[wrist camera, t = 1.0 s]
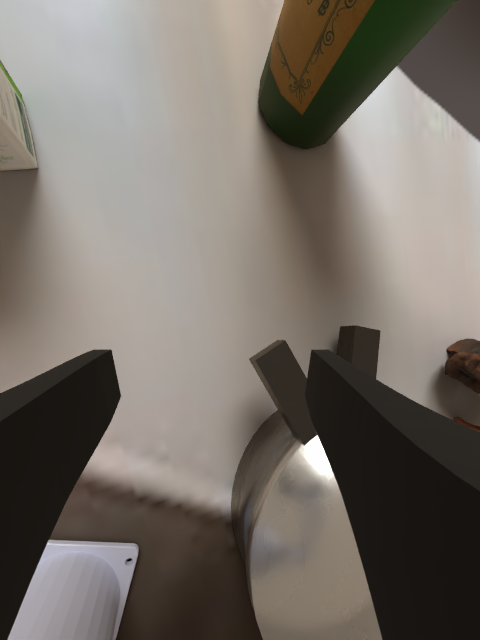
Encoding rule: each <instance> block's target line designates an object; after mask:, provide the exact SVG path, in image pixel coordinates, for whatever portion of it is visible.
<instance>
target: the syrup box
mask: <svg viewBox="0 0 480 640" xmlns="http://www.w3.org/2000/svg"><path fill="white" fill-rule="evenodd" d="M32 168H38V164H37V161H36V155H35V151H34V146H33V140H32V136H31V132H30V127H29V123H28V119H27V115H26V111H25V107H24V103H23V99H22V95H21V93H20V91H19V90H18V88H17V86H16V85H15V83H14V82H13V80H12V78H11V77H10V75H9V74H8V72H7V70H6V69H5V67H4V65H3V64H2V62H1V61H0V171H3V170H18V169H32Z"/></svg>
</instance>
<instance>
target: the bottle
mask: <svg viewBox="0 0 480 640" xmlns="http://www.w3.org/2000/svg"><path fill="white" fill-rule="evenodd" d="M456 1H457V0H285V1H284V4H283V7H282V11H281V14H280V17H279V20H278V24H277V27H276V30H275V33H274V37H273V40H272V43H271V47H270V50H269V53H268V56H267V60H266V63H265V66H264V69H263V73H262V76H261V79H260V89H259V100H258V102H259V105H260V107H261V109H262V112H263V114H264V117H265V119H266V121H267V124H268V125H269V126H270V127H271V128H272V129H273V130H274V131H275V132H276V133H277V134H278V135H279V136H280V137H281V138H282V139H283V140H284V141H286V142H288V143H291V144H294V145H297V146H300V147H303V148H306V149H307V148H311V147H314V146H318V145H322V144H325V143H326V142H327V140H328V139H329V138H330V137H331V136H332V135H333V134H334V133H335V132H336V131H337V130H338V129H339V128H340V126H341V125H342V124H343V123H344V122H345V121H346V120H347V119H348V118H349V117H350V116H351V115H352V113H353V112H354V111H355V110H356V109H357V108H358V107H359V106H360V105H361V104H362V103H363V102H364V101H365V99H366V98H367V97H368V96H369V95H370V94H371V93H372V92H373V91H374V90H375V89H376V88H377V87H378V85H379V84H380V83H381V82H382V81H383V80H384V79H385V78H386V77H387V76H388V75H389V74H390V72H391V71H392V70H393V69H394V68H395V67H396V66H397V65H398V63H400V62H401V61H402V60H403V58H404V57H405V56H406V55H407V54H408V53H409V52H410V51H411V50H412V49H413V48H414V47H415V45H416V44H417V43H418V42H419V41H420V40H421V39H422V38H423V37H424V36H425V35H426V34H427V33H428V31H429V30H430V29H431V28H432V27H433V26H434V25H435V24H436V23H437V22H438V21H439V19H440V18H441V17H442V16H443V15H444V14H445V13H446V12H447V11H448V10H449V9H450V8H451V7H452V5H453V4H454V3H455V2H456Z"/></svg>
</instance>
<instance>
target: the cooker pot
mask: <svg viewBox="0 0 480 640" xmlns="http://www.w3.org/2000/svg"><path fill="white" fill-rule="evenodd" d="M379 340H380V330H375V329H370V328H365V327H360V326H341V327H340V332H339V341H338V350H337V355H338V356H340V357H342V358H343V359H345V360H346V361H348V362H349V363H351V364H352V365H354V366H356V367H357V368H359V369H360V370H362V371H363V372H365V373H367V374H368V375H370V376H371V377H373V378H374V379H376V373H377V362H378V351H379ZM293 438H294V436H293V434H292V433H291V431H290V429H289V428H288V426H287V424H286V422H285V421H284V419H283V417H282V415H281V414H280V412H279V410H278V411H276V412H275V413H274V414H273V415H271V416H270V417H269V418H268V419H267V420H266V421H265V422H264V423H263V424H262V425H261V427H260V428H259V429H258V431H257V432H256V433H255V435H254V436H253V437H252V439H251V441H250V442H249V444H248V446H247V447H246V449H245V452H244V454H243V456H242V458H241V460H240V463H239V466H238V469H237V472H236V475H235V480H234V485H233V490H232V501H231V513H232V524H233V530H234V535H235V538H236V541H237V545H238V548H239V551H240V553H241V556H242V559H243V562H244V565H245V568H246V545H247V538H248V532H249V525H250V521H251V517H252V513H253V510H254V506H255V503H256V500H257V498H258V495H259V493H260V490H261V487H262V485H263V483H264V481H265V479H266V477H267V475H268V473H269V471H270V470H271V468H272V466H273V465H274V463H275V462H276V460H277V459H278V457H279V456H280V454H281V453H282V451H283V450H284V449H285V448H286V447H287V445H288V444H289V443H290V442H291V441H292V440H293Z"/></svg>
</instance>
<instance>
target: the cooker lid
mask: <svg viewBox="0 0 480 640" xmlns="http://www.w3.org/2000/svg"><path fill="white" fill-rule="evenodd" d="M249 360H250V362H251V363H252V365H253V367H254V368H255V370H256V372H257V374H258V375H259V377H260V379H261V381H262V382H263V384H264V386H265V388H266V389H267V391H268V393H269V395H270V396H271V398H272V400H273V401H274V403H275V405H276V407H277V408H278V410H279V412H280V414H281V415H282V417H283V419H284V421H285V422H286V424H287V426H288V428H289V429H290V431H291V433H292V434H293V436H294V438H293V440H292V441H291V442H290V443H289V444H288V445H287V447H286V448H285V449H284V450H283V451H282V453H281V454H280V456H279V457H278V459H277V460H276V462H275V463H274V465H273V466H272V468H271V470H270V471H269V473H268V475H267V477H266V479H265V481H264V483H263V485H262V487H261V490H260V493H259V495H258V498H257V500H256V503H255V506H254V510H253V513H252V517H251V521H250V525H249V532H248V538H247V545H246V576H247V586H248V591H249V596H250V601H251V605H252V608H253V611H254V614H255V617H256V621H257V624H258V627H259V629H260V632H261V635H262V638H263V640H382V636H381V632H380V628H379V625H378V621H377V617H376V613H375V610H374V606H373V602H372V598H371V595H370V591H369V587H368V583H367V580H366V576H365V572H364V569H363V565H362V562H361V558H360V555H359V551H358V548H357V544H356V541H355V537H354V534H353V531H352V527H351V524H350V521H349V518H348V514H347V511H346V508H345V505H344V501H343V498H342V495H341V492H340V490H339V487H338V484H337V481H336V479H335V477H334V474H333V472H332V469H331V467H330V464H329V462H328V460H327V457H326V455H325V452H324V450H323V447H322V445H321V443H320V440H319V438H318V435H317V433H316V430H315V428H314V425H313V423H312V420H311V416H310V413H309V409H308V405H307V401H306V397H305V391H306V384H307V378H306V377H305V375H304V373H303V371H302V369H301V368H300V366H299V364H298V362H297V360H296V359H295V357H294V355H293V353H292V351H291V350H290V348H289V346H288V344H287V343H286V341H285V340H277V341H276V342H274V343H272V344H271V345H269V346H268V347H266V348H265V349H263V350H262V351H260V352H259V353H257V354H256V355H254V356H253V357H251V358H250V359H249Z"/></svg>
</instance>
